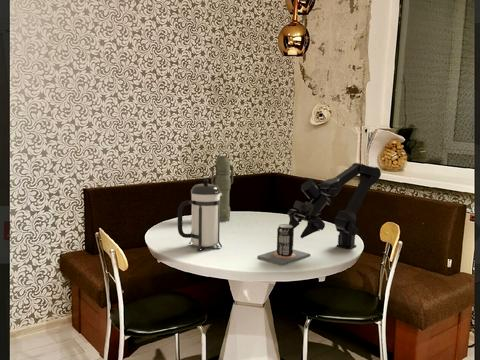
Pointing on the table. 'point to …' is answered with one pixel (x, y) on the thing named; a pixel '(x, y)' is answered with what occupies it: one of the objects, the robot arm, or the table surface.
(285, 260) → the placemat
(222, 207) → the thermos
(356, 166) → the robot arm
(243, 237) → the table surface
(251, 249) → the table surface
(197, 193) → the coffee press
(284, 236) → the beverage can
